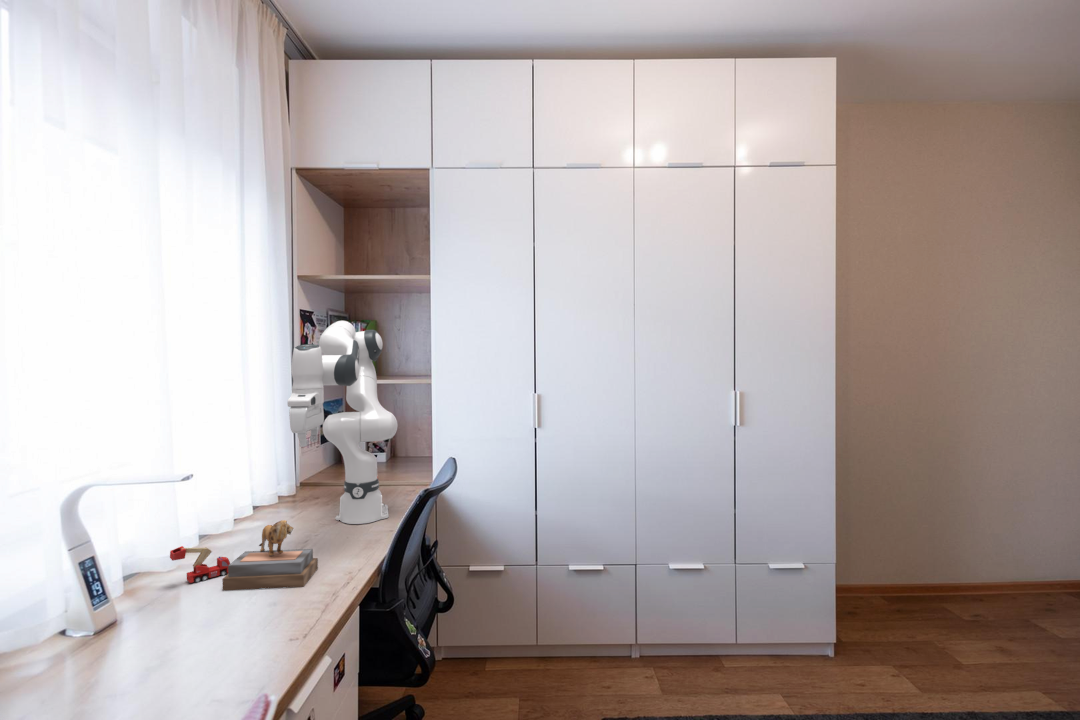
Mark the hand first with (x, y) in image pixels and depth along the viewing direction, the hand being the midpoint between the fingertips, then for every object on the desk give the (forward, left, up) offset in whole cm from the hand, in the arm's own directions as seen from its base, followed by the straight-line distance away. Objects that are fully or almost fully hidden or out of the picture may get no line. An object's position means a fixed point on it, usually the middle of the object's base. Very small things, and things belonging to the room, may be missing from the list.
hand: (308, 443), depth 167 cm
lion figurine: (+15, -5, -27) cm, 32 cm away
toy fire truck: (+17, -23, -33) cm, 44 cm away
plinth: (+19, -4, -33) cm, 38 cm away
